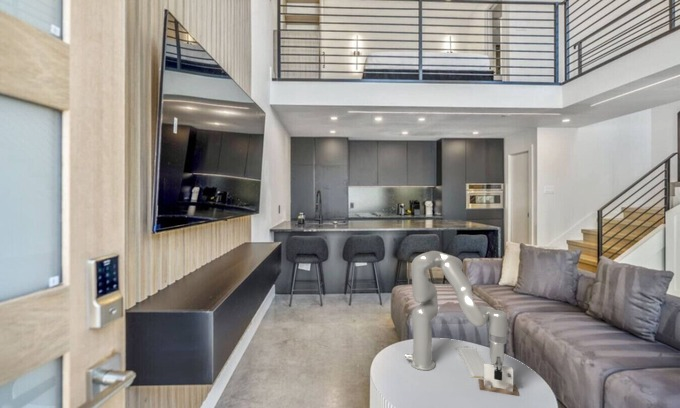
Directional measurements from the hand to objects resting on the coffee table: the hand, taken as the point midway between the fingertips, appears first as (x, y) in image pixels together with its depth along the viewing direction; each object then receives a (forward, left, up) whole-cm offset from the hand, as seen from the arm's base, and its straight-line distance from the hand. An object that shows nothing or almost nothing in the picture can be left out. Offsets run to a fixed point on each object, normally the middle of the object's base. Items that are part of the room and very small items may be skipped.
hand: (496, 374), depth 158 cm
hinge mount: (0, 0, -6) cm, 6 cm away
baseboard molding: (-9, +22, -7) cm, 25 cm away
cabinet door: (+1, 0, -5) cm, 5 cm away
